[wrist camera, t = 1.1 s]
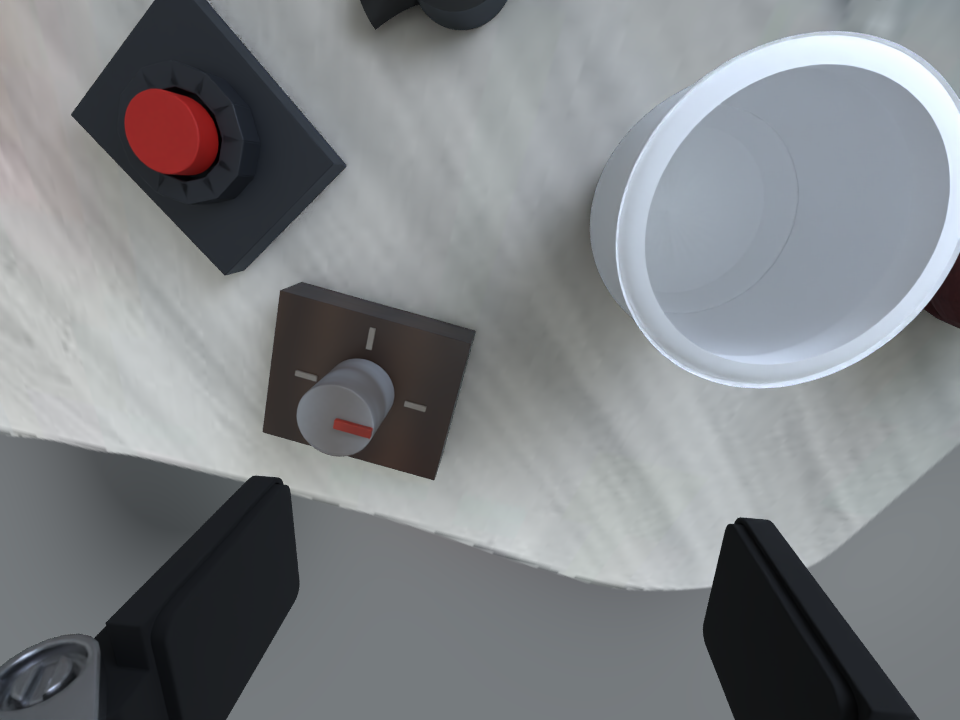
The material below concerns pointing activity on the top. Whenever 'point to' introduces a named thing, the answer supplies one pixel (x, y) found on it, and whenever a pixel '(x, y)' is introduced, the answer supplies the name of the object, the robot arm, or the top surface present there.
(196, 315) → the top surface
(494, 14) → the black wing nut
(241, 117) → the button block
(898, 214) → the jar
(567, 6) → the top surface
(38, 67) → the top surface
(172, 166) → the button
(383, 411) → the dial
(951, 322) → the mate gourd
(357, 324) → the dial panel
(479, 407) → the top surface
